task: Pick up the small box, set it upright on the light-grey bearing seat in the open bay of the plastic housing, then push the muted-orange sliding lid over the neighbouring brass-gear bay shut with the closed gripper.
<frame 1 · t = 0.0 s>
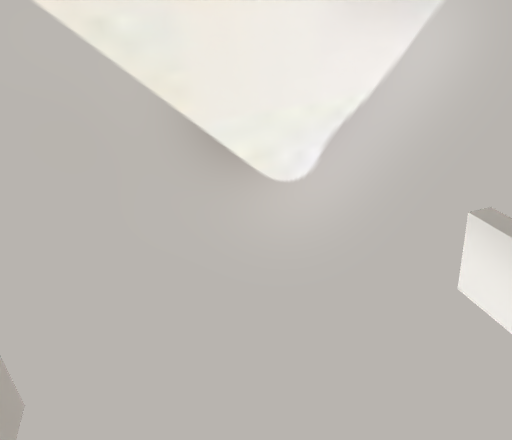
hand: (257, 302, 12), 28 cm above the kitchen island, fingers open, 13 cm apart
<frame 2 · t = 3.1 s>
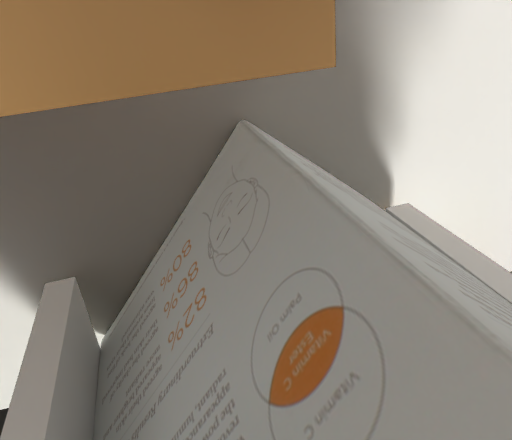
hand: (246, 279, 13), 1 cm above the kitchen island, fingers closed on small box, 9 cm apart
small box: (241, 266, 14), on the kitchen island, touching gripper
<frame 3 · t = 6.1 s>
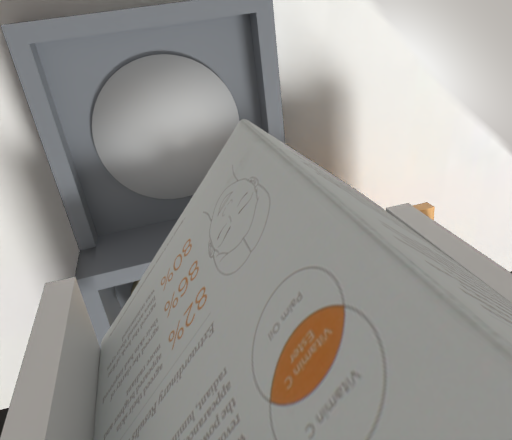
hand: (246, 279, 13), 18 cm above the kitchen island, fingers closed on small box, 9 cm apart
lid: (340, 315, 28), point 8 cm above the kitchen island, slide at 8.0 cm
housing: (183, 204, 31), on the kitchen island
small box: (241, 265, 14), point 17 cm above the kitchen island, touching gripper
when the fingers open (3 cm above the kitchen island, at t = 8.9 s): small box drops 2 cm, resting on housing.
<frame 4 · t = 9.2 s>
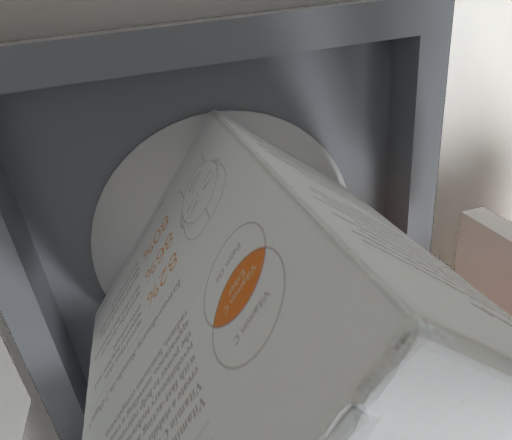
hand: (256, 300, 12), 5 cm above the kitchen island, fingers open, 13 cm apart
housing: (240, 341, 19), on the kitchen island
small box: (220, 242, 15), point 1 cm above the kitchen island, touching housing
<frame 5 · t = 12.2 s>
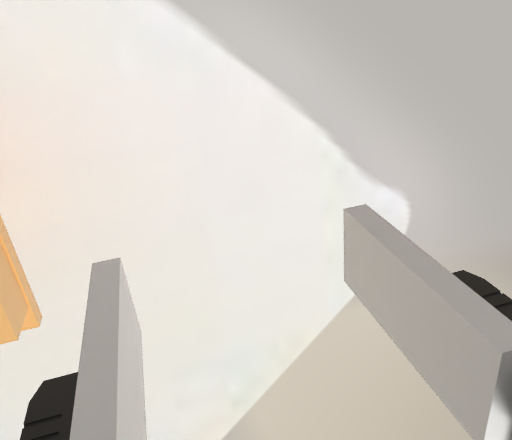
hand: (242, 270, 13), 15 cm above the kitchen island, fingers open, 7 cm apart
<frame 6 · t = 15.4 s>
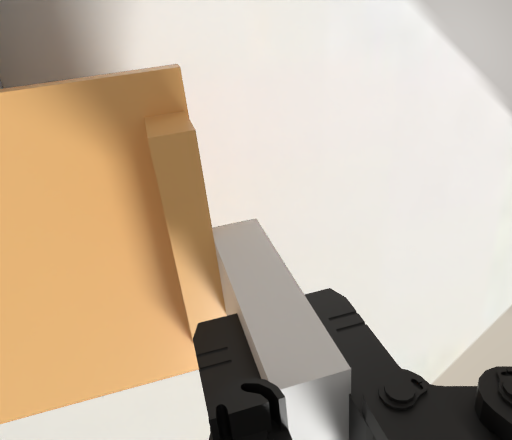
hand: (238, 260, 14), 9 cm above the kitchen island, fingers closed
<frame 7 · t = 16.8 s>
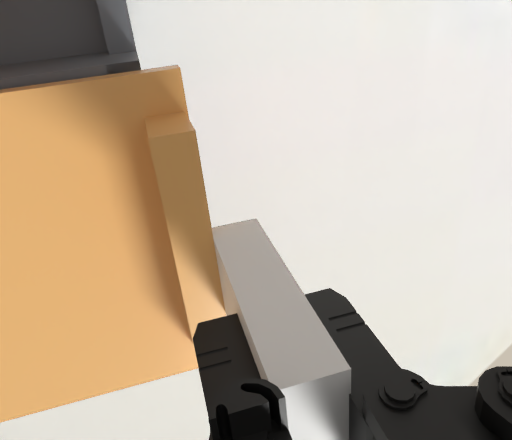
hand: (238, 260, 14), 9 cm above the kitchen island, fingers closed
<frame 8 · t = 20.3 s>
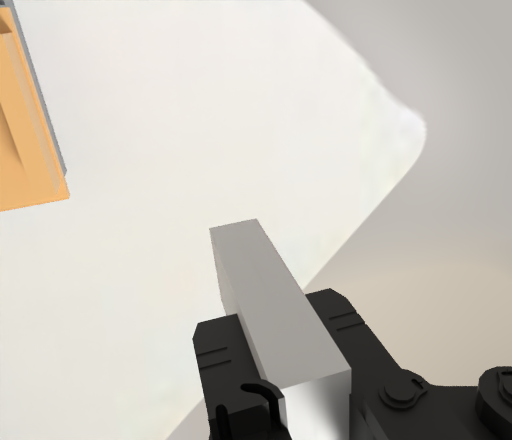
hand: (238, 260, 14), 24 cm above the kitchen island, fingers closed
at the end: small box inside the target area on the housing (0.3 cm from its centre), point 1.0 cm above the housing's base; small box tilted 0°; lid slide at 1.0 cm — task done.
